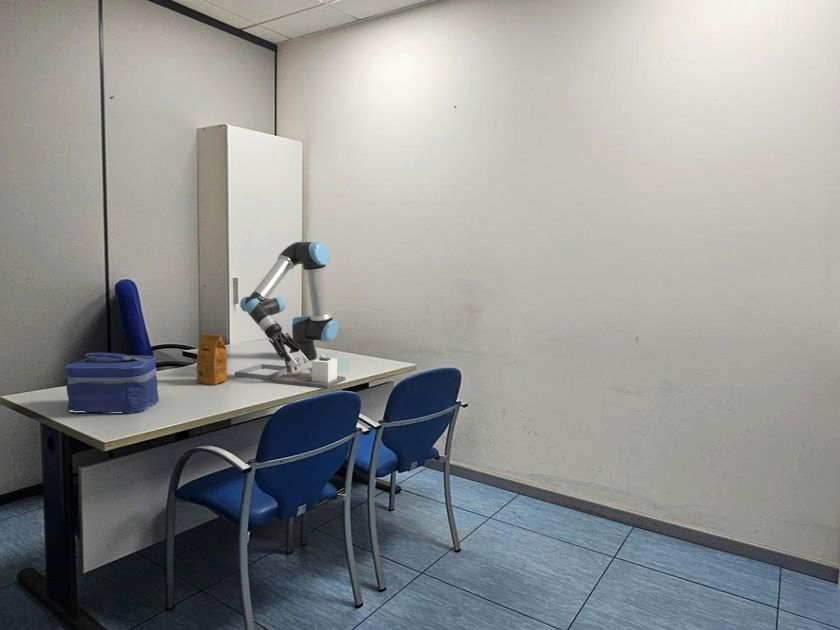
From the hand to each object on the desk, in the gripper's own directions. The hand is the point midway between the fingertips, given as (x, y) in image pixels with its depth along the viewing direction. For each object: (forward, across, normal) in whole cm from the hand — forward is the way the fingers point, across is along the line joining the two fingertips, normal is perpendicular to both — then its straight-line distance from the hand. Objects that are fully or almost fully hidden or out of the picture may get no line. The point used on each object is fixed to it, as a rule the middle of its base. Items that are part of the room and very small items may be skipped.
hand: (300, 364), depth 258 cm
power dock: (+8, 0, -3) cm, 9 cm away
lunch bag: (-23, +64, -35) cm, 77 cm away
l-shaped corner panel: (+8, -26, -3) cm, 28 cm away
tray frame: (-11, -6, -22) cm, 25 cm away
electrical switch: (+1, 0, -5) cm, 5 cm away
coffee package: (-18, +19, -30) cm, 40 cm away
